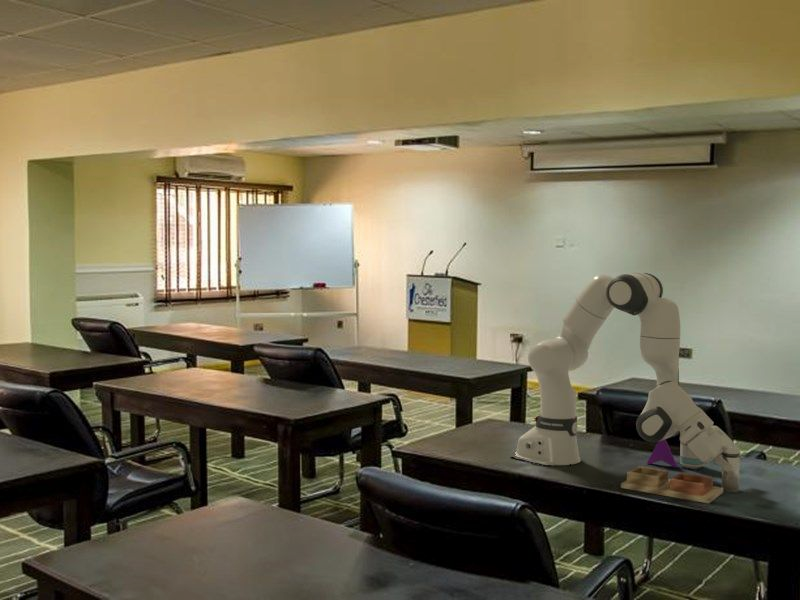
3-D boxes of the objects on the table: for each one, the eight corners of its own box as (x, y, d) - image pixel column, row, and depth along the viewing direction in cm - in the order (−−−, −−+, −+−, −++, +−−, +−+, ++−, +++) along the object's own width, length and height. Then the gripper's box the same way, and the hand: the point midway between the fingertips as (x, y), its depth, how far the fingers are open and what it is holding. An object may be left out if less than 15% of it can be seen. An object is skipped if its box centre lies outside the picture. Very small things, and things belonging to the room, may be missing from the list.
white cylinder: (719, 490, 219) (719, 447, 218) (723, 486, 223) (724, 444, 222) (736, 493, 216) (737, 450, 216) (741, 489, 220) (742, 447, 219)
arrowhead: (661, 480, 246) (638, 455, 249) (662, 478, 247) (639, 454, 250) (685, 460, 242) (661, 435, 245) (686, 459, 244) (662, 434, 247)
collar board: (620, 487, 222) (621, 472, 222) (638, 477, 232) (638, 463, 232) (709, 503, 207) (709, 487, 207) (723, 492, 218) (723, 476, 217)
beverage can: (675, 466, 245) (676, 428, 244) (687, 462, 249) (688, 425, 248) (696, 471, 239) (697, 432, 239) (707, 467, 244) (709, 428, 243)
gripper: (700, 428, 234) (734, 466, 228) (677, 441, 218) (713, 482, 212) (716, 415, 231) (751, 453, 226) (694, 427, 215) (731, 468, 209)
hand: (733, 467), depth 219 cm, fingers closed on white cylinder, 4 cm apart
